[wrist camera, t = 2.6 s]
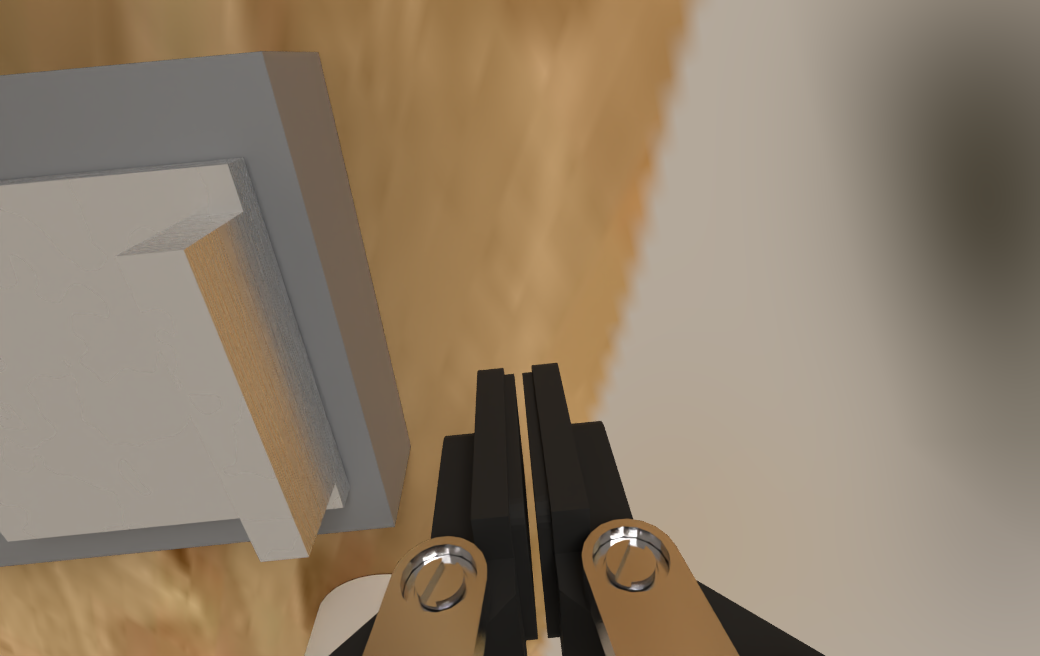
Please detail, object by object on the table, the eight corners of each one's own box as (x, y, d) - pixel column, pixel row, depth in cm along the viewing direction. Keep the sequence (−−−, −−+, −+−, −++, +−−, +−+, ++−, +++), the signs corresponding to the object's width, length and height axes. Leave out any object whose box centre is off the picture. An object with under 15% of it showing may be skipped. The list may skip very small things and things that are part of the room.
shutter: (-212, 200, 11) (-453, 250, 8) (243, 157, 11) (159, 192, 9) (29, 520, 16) (-73, 623, 13) (350, 487, 16) (319, 583, 13)
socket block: (-422, 120, 14) (-729, 143, 10) (318, 51, 14) (261, 51, 11) (-91, 496, 21) (-212, 587, 17) (410, 446, 21) (394, 526, 17)
